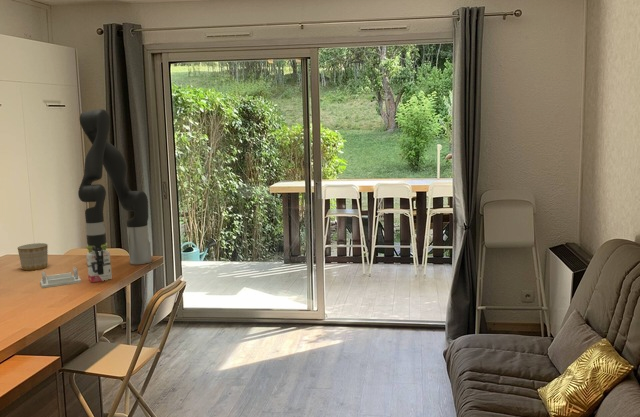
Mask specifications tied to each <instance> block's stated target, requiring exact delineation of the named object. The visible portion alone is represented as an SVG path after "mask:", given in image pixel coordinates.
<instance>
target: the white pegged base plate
mask: <svg viewBox="0 0 640 417" xmlns="http://www.w3.org/2000/svg"><path fill="white" fill-rule="evenodd" d="M72 270H73V271H72V272H66V273H65V272H63V273H58V274H48V275H46V272H45V271H41V279H40V280H39V281H40V286H41V289H46V288H52V287H57V286H60V287H61V286H66V285H67V286H68V285H72V284H80V283H82V279H81V277H80V276H79V274H78V269H77V267H76V266H74V267H72Z"/></svg>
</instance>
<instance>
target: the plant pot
mask: <svg viewBox="0 0 640 417" xmlns="http://www.w3.org/2000/svg"><path fill="white" fill-rule="evenodd" d="M92 247H93V246H89V245H88V244H87V245H86V249H87V252H88V253H90V252H92ZM107 247H108V243H107V242H106V244H103V245H101V248H102V249H103V250H107Z"/></svg>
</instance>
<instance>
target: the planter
mask: <svg viewBox="0 0 640 417" xmlns="http://www.w3.org/2000/svg"><path fill="white" fill-rule="evenodd" d="M48 245H49V244H48V243H43V242H42V243H40V242H38V243H37V242H36V243H29V244H24V245H23V244H22V245H19V246H17V252H18V256H19V261H20V267H21V269H22V270H24V271H38V270H42V269H46V268H47V267H48V264H49V263H48V257H49V256H48V255H49V253H48V252H49V251H48V247H49V246H48Z"/></svg>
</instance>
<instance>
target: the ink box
mask: <svg viewBox="0 0 640 417" xmlns="http://www.w3.org/2000/svg"><path fill="white" fill-rule="evenodd" d="M95 255H96V254H93V252H90V253H89V252H87V253H86V255H85V256H86V264H87V265H86V267H87V275H88V281H89V282H90V283H99V282H102V281H103V282H104V280H105V281H109V280H108V279H111V280H112V279H113V274H112V263H111V253H110V251H108V250H107V249H106V250H103V257H104V259H103V260H104V264H103V272H104V274H102V275H98V270H97V265H96V264H97V263H96V260H95ZM96 258H97V256H96ZM99 262H101V260H99Z"/></svg>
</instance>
